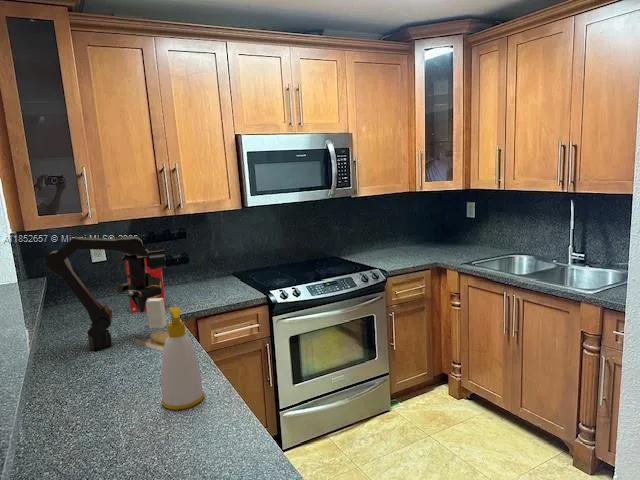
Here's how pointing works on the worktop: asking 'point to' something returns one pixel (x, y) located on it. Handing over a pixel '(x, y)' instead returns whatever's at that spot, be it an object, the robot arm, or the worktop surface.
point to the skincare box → (156, 313)
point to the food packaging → (153, 274)
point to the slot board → (149, 344)
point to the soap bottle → (180, 367)
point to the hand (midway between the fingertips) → (142, 312)
